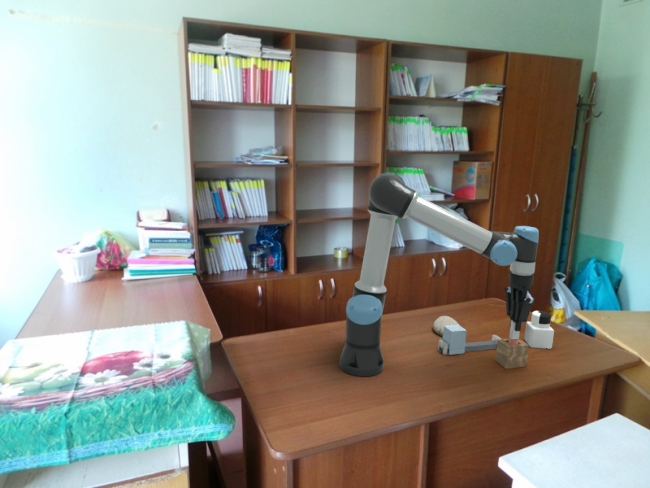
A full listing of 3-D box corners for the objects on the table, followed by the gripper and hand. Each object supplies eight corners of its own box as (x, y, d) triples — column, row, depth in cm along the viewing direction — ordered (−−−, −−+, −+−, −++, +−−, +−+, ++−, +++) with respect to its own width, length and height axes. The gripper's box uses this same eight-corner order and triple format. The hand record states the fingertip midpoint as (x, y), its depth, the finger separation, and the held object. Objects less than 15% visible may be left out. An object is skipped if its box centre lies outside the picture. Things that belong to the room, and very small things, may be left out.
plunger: (510, 362, 154) (512, 341, 152) (504, 358, 157) (507, 337, 155) (517, 361, 155) (520, 340, 153) (511, 357, 158) (514, 336, 156)
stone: (452, 348, 178) (466, 334, 175) (433, 334, 177) (446, 320, 174) (447, 333, 190) (459, 319, 187) (428, 319, 189) (441, 306, 186)
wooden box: (506, 368, 152) (508, 346, 151) (495, 360, 158) (497, 339, 156) (526, 366, 154) (528, 345, 153) (514, 358, 160) (517, 337, 158)
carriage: (449, 354, 161) (451, 331, 159) (441, 348, 167) (443, 325, 165) (464, 353, 163) (466, 330, 161) (456, 346, 168) (458, 324, 166)
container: (544, 340, 176) (548, 309, 173) (551, 349, 169) (556, 316, 166) (523, 339, 177) (527, 308, 174) (530, 347, 169) (535, 315, 167)
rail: (443, 354, 162) (444, 344, 161) (438, 349, 165) (438, 339, 165) (501, 349, 168) (502, 339, 167) (494, 344, 171) (495, 334, 170)
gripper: (545, 277, 144) (536, 345, 149) (518, 267, 156) (511, 330, 161) (525, 278, 142) (516, 347, 147) (500, 268, 154) (493, 331, 159)
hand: (513, 338), depth 154 cm, fingers closed
